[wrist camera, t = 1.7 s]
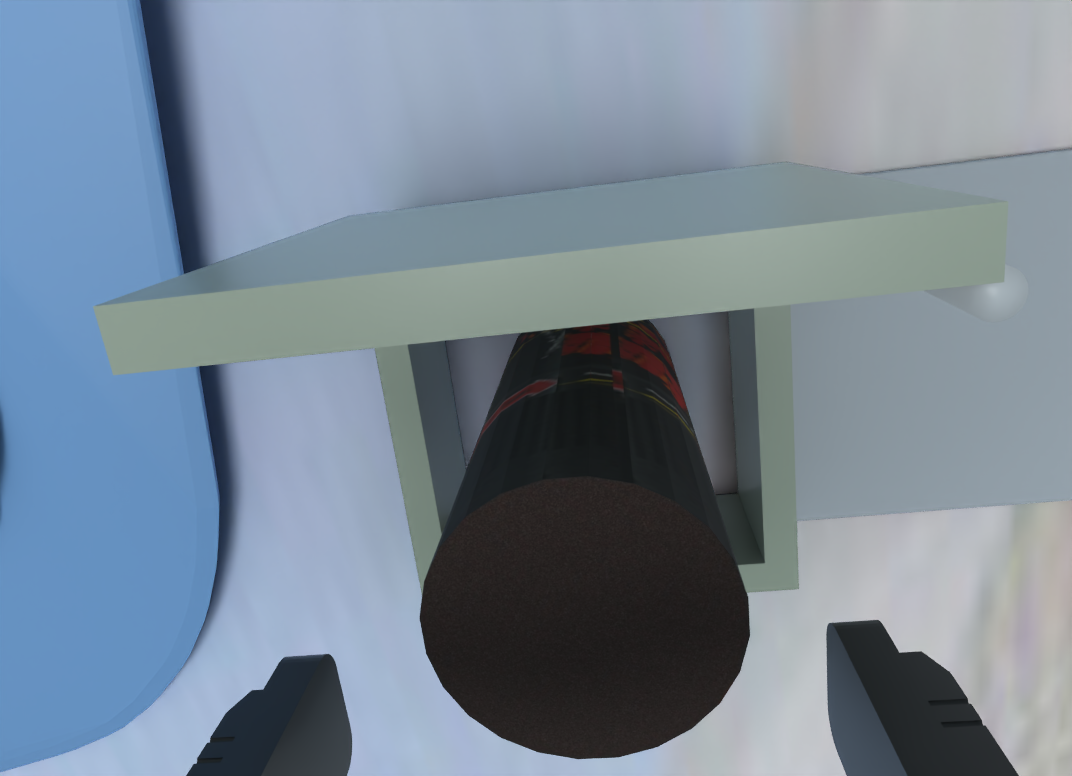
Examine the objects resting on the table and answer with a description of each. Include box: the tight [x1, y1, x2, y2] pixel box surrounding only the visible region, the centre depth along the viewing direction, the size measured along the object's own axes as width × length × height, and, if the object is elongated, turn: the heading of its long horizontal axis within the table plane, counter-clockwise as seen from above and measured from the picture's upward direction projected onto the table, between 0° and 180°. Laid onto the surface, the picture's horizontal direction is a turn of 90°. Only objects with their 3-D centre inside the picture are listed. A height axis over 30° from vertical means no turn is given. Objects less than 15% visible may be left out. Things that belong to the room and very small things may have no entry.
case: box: [93, 162, 1029, 594], centre depth 20 cm, size 13×13×17 cm
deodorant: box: [420, 320, 750, 759], centre depth 21 cm, size 6×6×15 cm
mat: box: [790, 149, 1072, 521], centre depth 27 cm, size 12×12×1 cm
